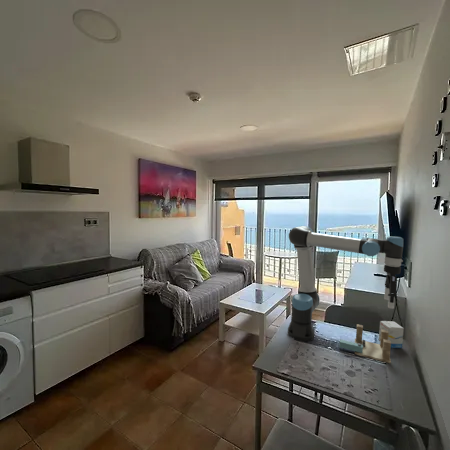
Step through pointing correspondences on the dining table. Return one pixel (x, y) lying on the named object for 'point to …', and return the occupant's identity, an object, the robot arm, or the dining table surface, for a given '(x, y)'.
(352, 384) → the dining table surface
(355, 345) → the hinged leg
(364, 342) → the stool seat
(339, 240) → the robot arm
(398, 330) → the ink box
